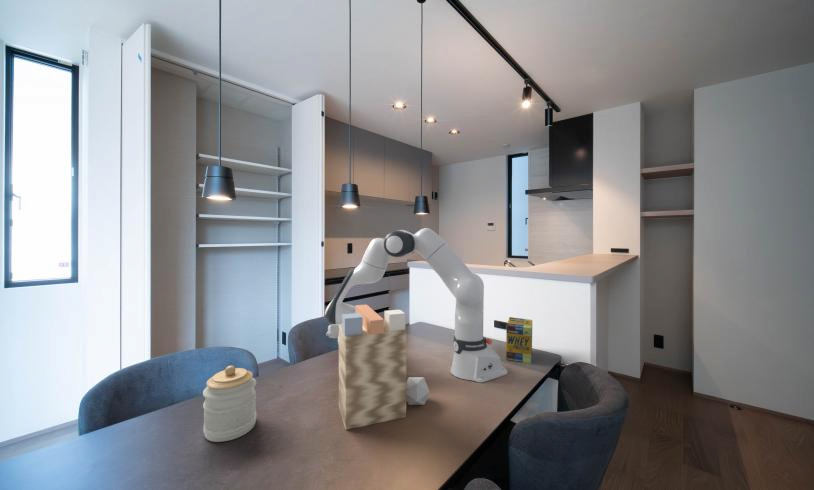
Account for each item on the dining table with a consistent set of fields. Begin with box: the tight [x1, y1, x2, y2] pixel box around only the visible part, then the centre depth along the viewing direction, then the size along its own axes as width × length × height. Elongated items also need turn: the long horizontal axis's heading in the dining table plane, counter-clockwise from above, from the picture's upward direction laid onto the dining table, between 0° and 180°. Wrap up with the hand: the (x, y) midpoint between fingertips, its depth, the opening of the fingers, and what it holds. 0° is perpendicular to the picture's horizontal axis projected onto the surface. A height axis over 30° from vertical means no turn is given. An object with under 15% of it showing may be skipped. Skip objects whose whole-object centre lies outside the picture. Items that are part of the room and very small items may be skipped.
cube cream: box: [383, 309, 406, 332], centre depth 96 cm, size 5×5×5 cm
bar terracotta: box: [354, 304, 384, 335], centre depth 100 cm, size 4×21×4 cm, turn 21°
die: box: [406, 376, 430, 406], centre depth 102 cm, size 8×9×10 cm
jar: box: [202, 365, 257, 443], centre depth 88 cm, size 13×13×18 cm
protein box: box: [505, 316, 533, 365], centre depth 142 cm, size 10×15×16 cm
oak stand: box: [338, 325, 407, 431], centre depth 96 cm, size 18×12×26 cm
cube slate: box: [342, 313, 363, 336], centre depth 91 cm, size 5×5×5 cm
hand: (358, 323), depth 115 cm, fingers open, 8 cm apart
